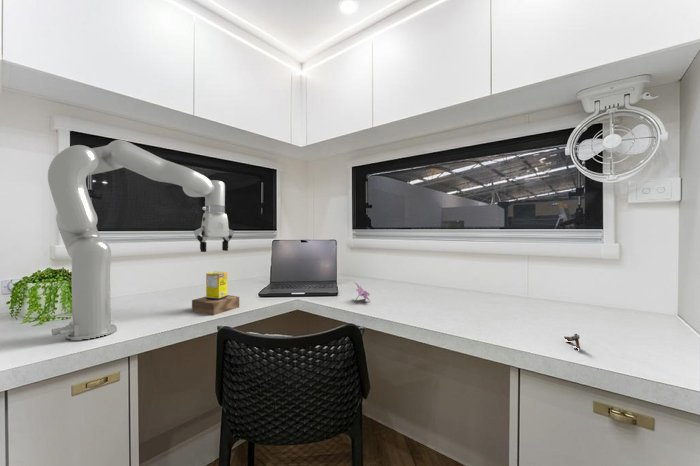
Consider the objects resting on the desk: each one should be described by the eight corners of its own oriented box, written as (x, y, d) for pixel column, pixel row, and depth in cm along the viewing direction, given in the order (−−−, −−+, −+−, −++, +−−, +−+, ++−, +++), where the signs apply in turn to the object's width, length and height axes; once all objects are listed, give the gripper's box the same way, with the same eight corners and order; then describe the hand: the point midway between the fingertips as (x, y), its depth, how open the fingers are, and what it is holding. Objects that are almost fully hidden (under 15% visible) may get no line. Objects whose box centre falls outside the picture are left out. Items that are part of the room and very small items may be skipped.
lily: (369, 307, 136) (377, 289, 139) (347, 297, 137) (355, 279, 139) (366, 308, 147) (373, 291, 149) (345, 299, 147) (352, 282, 150)
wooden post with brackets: (576, 350, 86) (574, 333, 88) (565, 351, 93) (563, 335, 95) (584, 351, 85) (581, 333, 87) (572, 352, 93) (570, 336, 94)
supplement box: (227, 297, 132) (227, 271, 132) (218, 300, 126) (219, 273, 126) (214, 296, 133) (215, 271, 133) (205, 299, 127) (206, 273, 127)
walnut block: (213, 316, 121) (213, 303, 121) (192, 312, 127) (191, 300, 127) (239, 308, 133) (239, 296, 132) (218, 304, 139) (218, 293, 138)
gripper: (199, 208, 119) (199, 252, 119) (238, 211, 133) (238, 250, 134) (189, 209, 124) (189, 251, 124) (228, 211, 138) (227, 249, 138)
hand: (214, 251), depth 129 cm, fingers open, 9 cm apart
